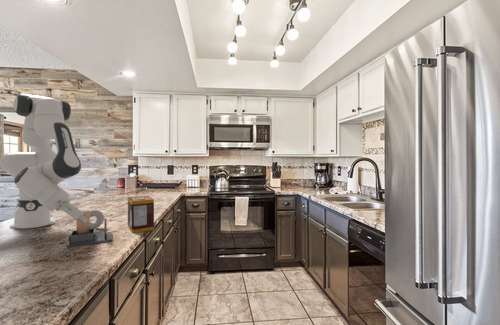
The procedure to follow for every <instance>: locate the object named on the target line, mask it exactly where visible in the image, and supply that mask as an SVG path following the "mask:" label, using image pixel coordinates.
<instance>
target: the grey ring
mask: <svg viewBox="0 0 500 325" xmlns="http://www.w3.org/2000/svg"><path fill="white" fill-rule="evenodd" d="M89 211H90V218H92V217H95V218H96V220H95V221H93V222H91V221H90V229H92V228H96V229H97V228H99V227H100V226H102V225H103V224H104V219H105V215H104V213H103V211H101V210H98V209H89Z"/></svg>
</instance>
